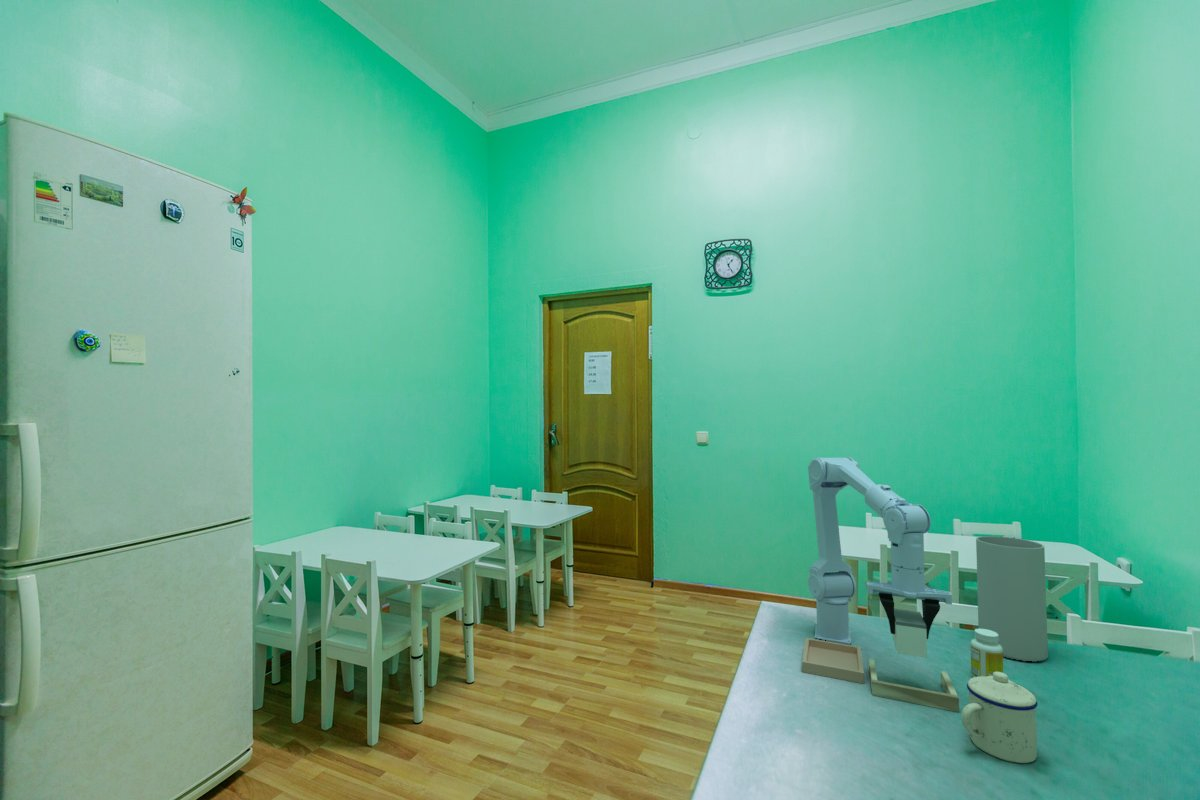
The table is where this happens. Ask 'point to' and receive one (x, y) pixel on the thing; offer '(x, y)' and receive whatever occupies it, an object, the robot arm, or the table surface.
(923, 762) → the table surface
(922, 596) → the robot arm
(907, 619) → the grey-green upright block
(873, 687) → the bay
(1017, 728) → the teacup with lid
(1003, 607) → the cylinder vase
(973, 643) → the supplement bottle
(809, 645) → the tray
